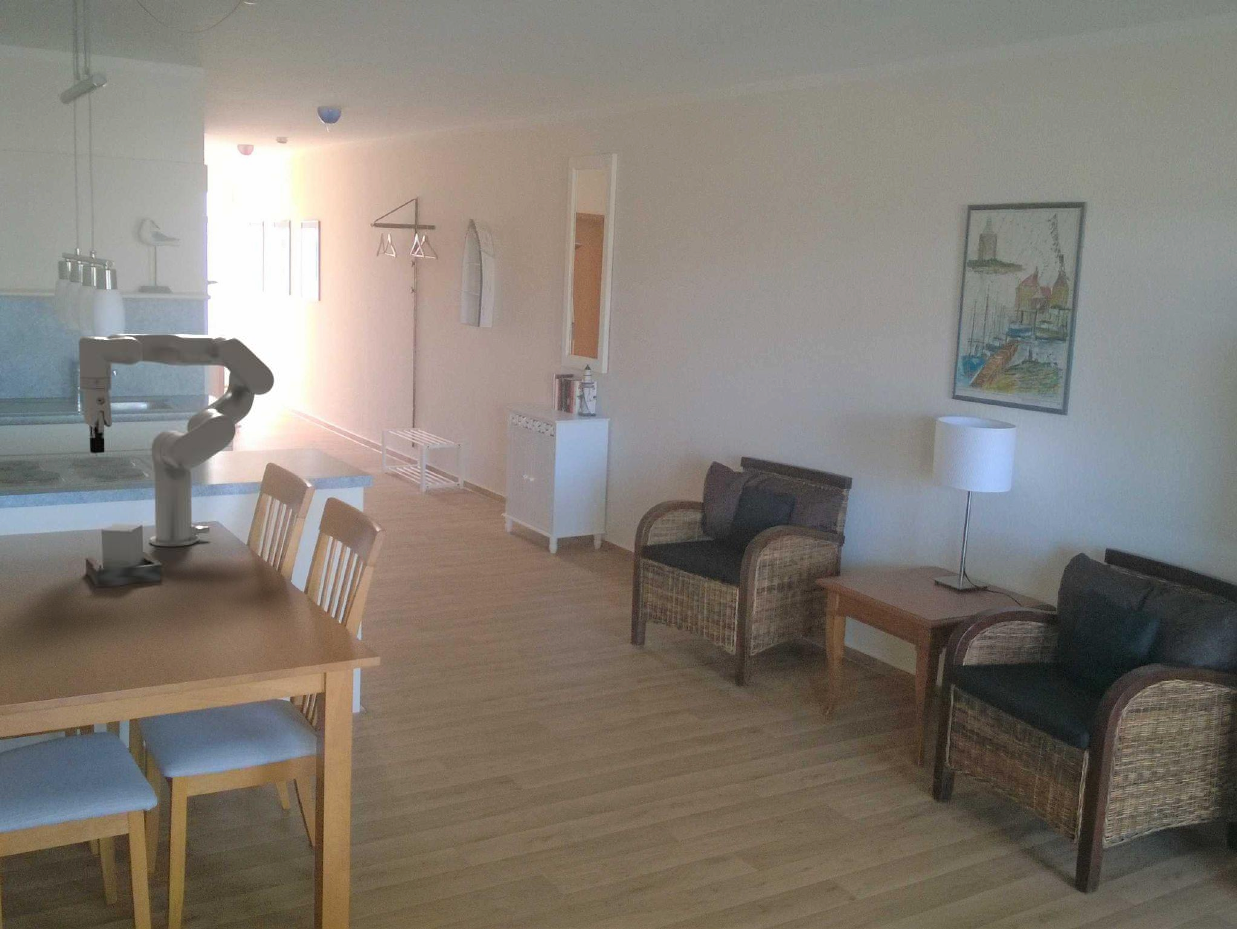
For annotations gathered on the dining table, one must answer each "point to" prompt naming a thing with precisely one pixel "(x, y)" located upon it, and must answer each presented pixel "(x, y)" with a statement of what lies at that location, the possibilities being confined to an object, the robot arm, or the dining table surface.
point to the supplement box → (122, 546)
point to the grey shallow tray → (124, 573)
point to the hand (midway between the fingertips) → (97, 452)
